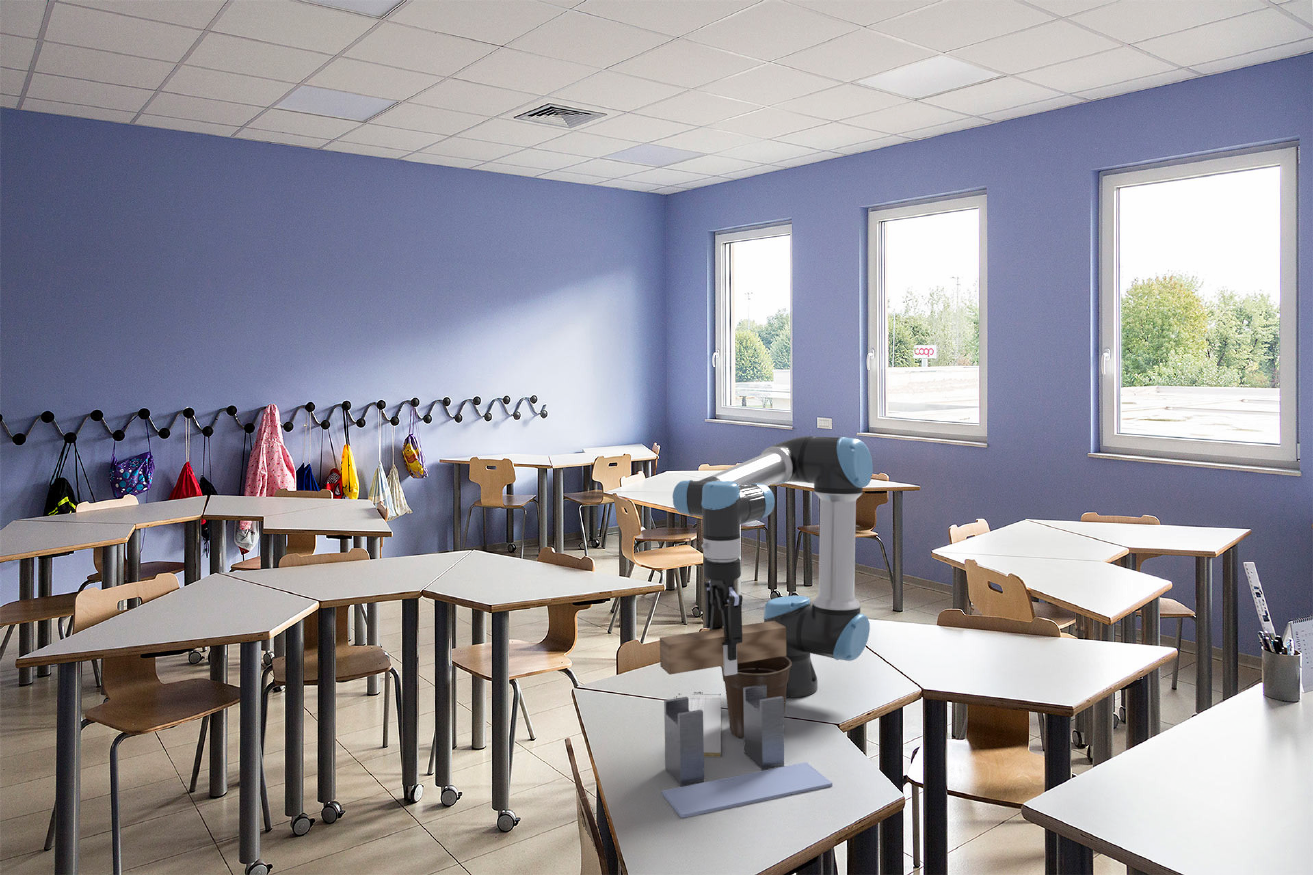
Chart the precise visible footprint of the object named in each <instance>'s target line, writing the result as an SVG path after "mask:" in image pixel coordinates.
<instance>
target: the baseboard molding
mask: <svg viewBox="0 0 1313 875" xmlns="http://www.w3.org/2000/svg"><path fill="white" fill-rule="evenodd" d="M680 695H681V693H678V695H676V696H674V697H673V699H675V698H678V696H680ZM693 695H701V696H703V695H704V696H705V695H709V696H710V695H711V696H712V695H715V696H716V695H717V696H719V697H714V696H713V697H711V696H710V697H708V696H707V697H701V696H700V697H695V696H691V697H688V696H687V697H688V698H689V711H695V710H702V711H703V737H704V757H710V758H711V757H713V758H715V757H722V756H721V755H722V749H721V748H722V746H721V745H722V744H721V743H722V740H721V738H722V732H721V731H722V728H721V726H722V721H721V720H722V718H721V716H722V698H721V697H720V696H721V693H719V694H712V693H711V694H703V692H702V691H697V692H696V691H694V692H693Z"/></svg>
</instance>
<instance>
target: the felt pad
mask: <svg viewBox="0 0 1313 875" xmlns="http://www.w3.org/2000/svg"><path fill="white" fill-rule="evenodd" d="M829 786H830V787H833V782H832V781H830V779H828V778H827V777H826V776H824V775H823V774H822V773H821V772H820V771H818V770H817V769H815V767H813V766H812V765H811V764H809V763H808V762H807V761H805V762H800V763H795V764H791V765H784V766H783V767H778V768H773V769H768V770H759V771H755V772H749V773H743V774H741V775H736V776H735V775H734V776H730V777H725V778H720V779H715V780H708V781H704V782H702V783H697V784H692V785H687V786H682V787H681V786H679V787H674V788H669V789H665V790H661V795H662V797H664V798H665V800H666V801H667V802H668V804H670V806H671V807H672V809H673V810H674V811H675V812H676V814H677V815H678V816H679V817H680V819H684V818H688V817H693V816H698V815H703V814H707V813H712V812H717V811H721V810H725V809H731V808H735V807H740V806H745V805H750V804H754V803H758V802H763V801H768V800H774V799H777V798H778V799H779V798H781V797H782V798H783V797H788V796H792V795H791V794H793V795H797V794H801V792H802V793H807V792H811V791H810V790H812V791H815V790H820V788H821V789H825V788H829ZM806 791H807V792H806Z"/></svg>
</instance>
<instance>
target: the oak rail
mask: <svg viewBox="0 0 1313 875" xmlns="http://www.w3.org/2000/svg"><path fill="white" fill-rule="evenodd" d="M722 642H725V637H724V629H723V628H722V629H715V630H710V629H709V630H702V631H696V632H689V633H681V634H676V635H675V634H674V635H668V636H662V637H660V636H659V660H660V662H659V664H660V668H661V669H662V670H664V671H665V672H666V673H667V674H668V675H676V674H682V673H688V672H689V673H690V672H694V671H699V670H707V669H712V668H718V667H720V666H723V645H722ZM781 656H786V627H785V626H783V625H781V624H779V623H778V622H776V621H769V622H764V621H763V622H758V623H750V624H744V625H743V624H742V643H737V664H738V663H744V662H750V661H756V660H762V659H768V658H775V657H781Z"/></svg>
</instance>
